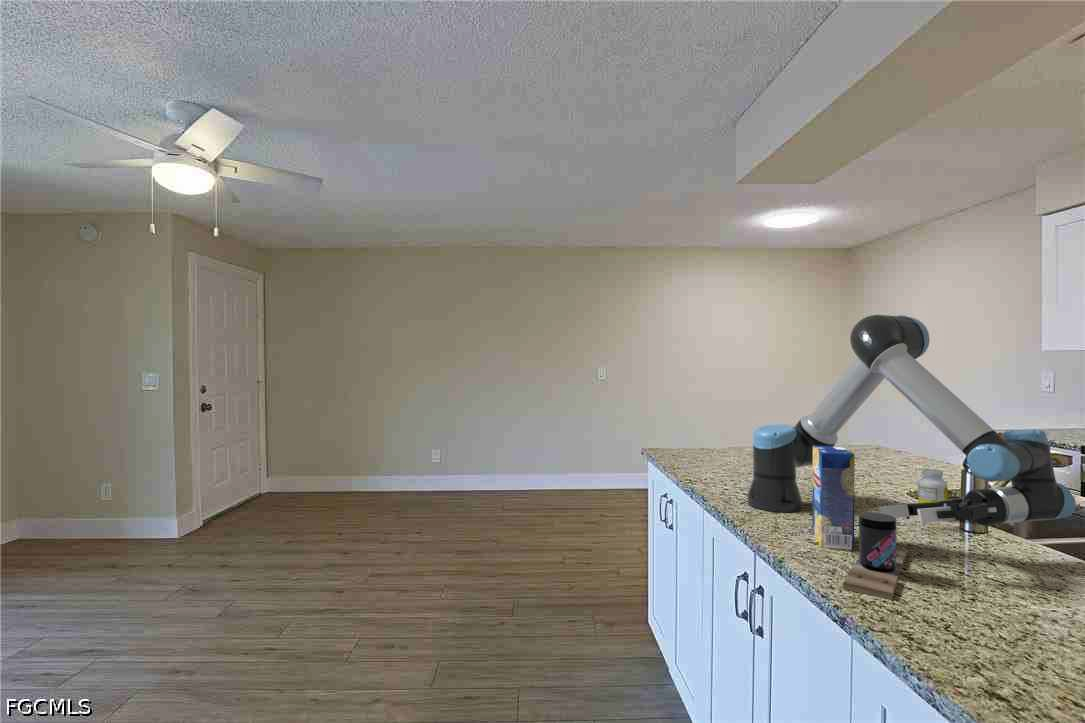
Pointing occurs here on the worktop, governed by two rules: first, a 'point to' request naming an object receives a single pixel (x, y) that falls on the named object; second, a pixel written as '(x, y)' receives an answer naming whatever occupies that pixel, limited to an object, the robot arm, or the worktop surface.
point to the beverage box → (833, 497)
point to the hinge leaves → (875, 579)
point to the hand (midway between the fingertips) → (898, 514)
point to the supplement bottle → (932, 487)
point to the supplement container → (877, 541)
